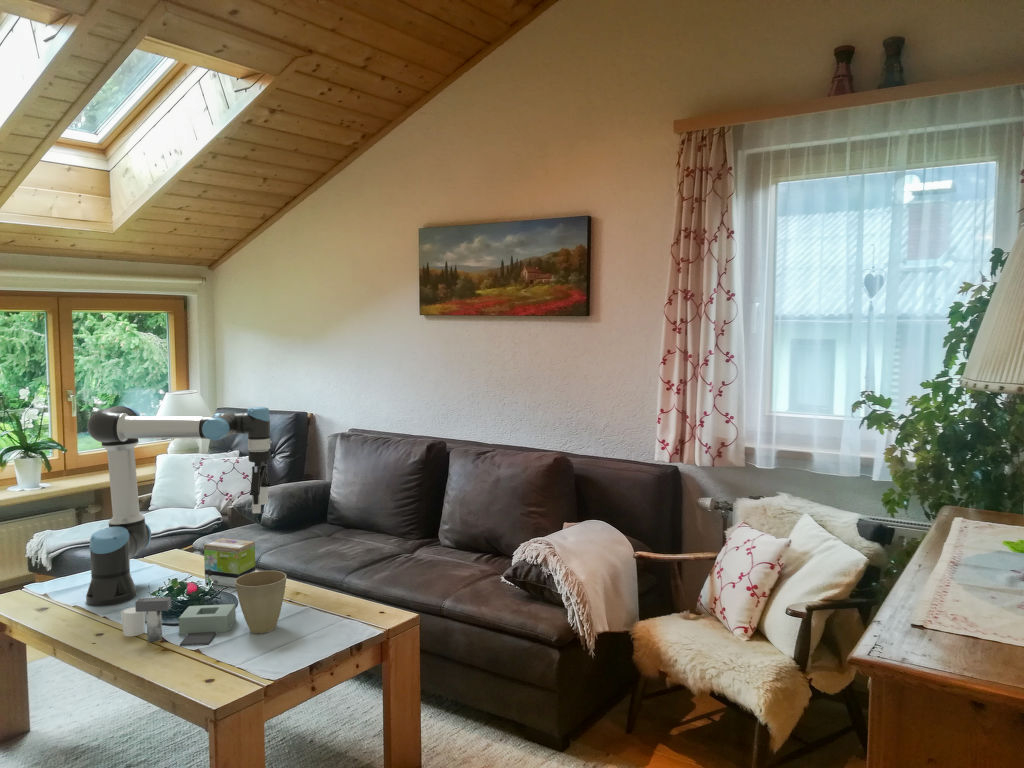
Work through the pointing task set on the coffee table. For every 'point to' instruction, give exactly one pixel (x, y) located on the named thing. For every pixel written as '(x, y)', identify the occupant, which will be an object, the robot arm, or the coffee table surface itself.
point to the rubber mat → (198, 638)
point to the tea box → (228, 560)
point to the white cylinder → (132, 621)
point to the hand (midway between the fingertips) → (260, 508)
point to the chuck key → (153, 615)
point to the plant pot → (261, 599)
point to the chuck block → (207, 618)
